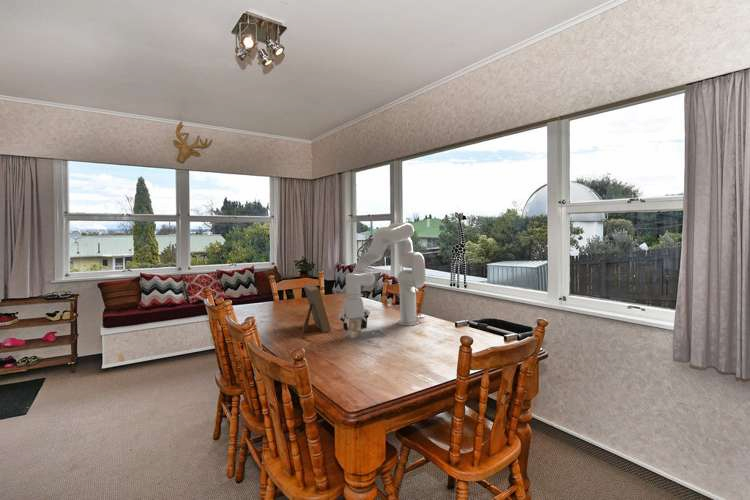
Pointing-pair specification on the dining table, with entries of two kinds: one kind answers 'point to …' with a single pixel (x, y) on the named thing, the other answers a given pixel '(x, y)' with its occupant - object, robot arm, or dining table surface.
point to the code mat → (368, 335)
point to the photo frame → (316, 308)
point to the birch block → (355, 329)
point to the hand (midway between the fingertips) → (354, 328)
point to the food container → (360, 320)
